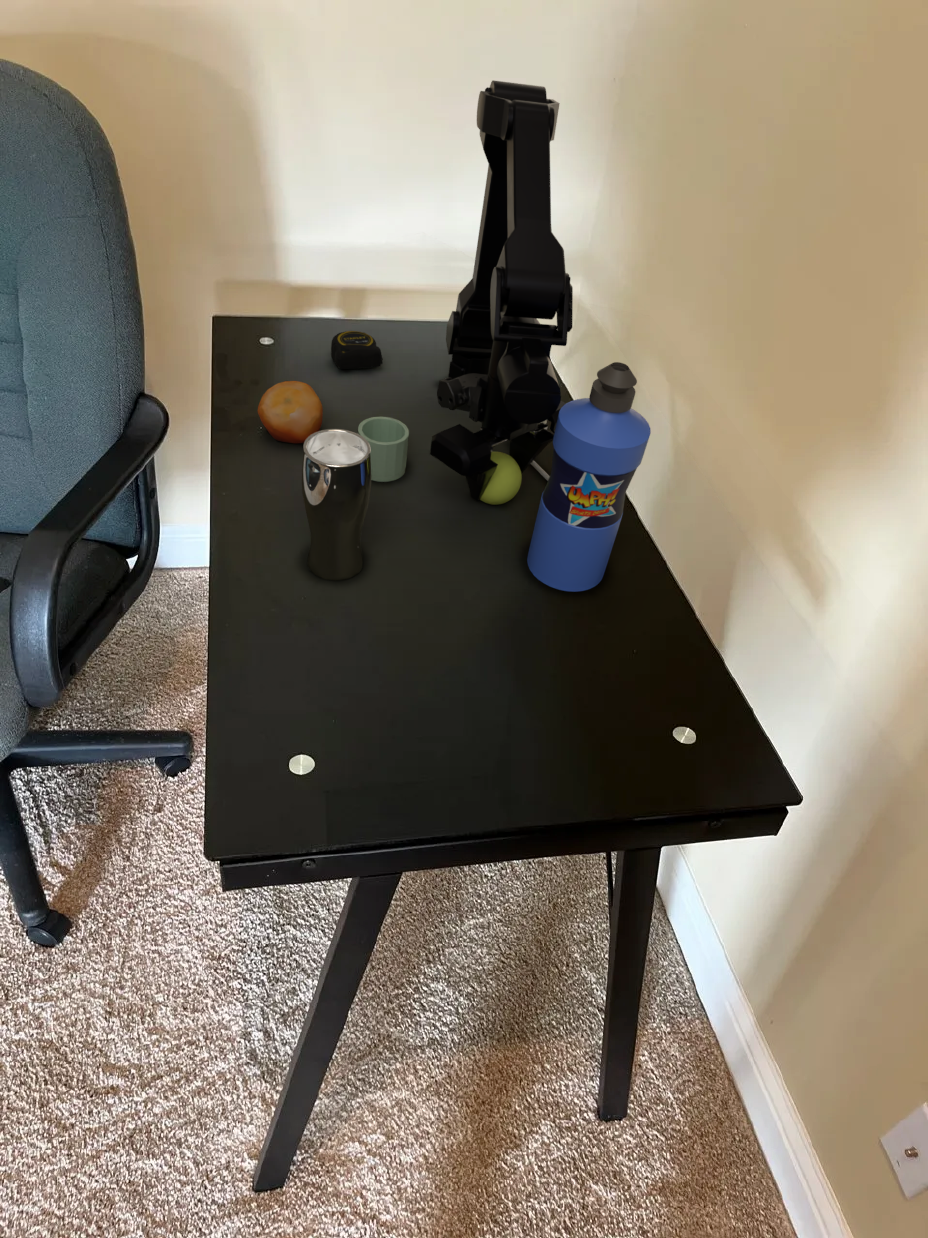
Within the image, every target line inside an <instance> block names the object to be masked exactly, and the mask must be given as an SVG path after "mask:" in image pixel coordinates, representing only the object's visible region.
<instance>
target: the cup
mask: <svg viewBox="0 0 928 1238" xmlns="http://www.w3.org/2000/svg"><path fill="white" fill-rule="evenodd" d="M357 434H359V435H361V436H362V437H364V438H365V439H366V440H367V441H368V442H369V444H370V447H371V481H374V482H381V483H383V482H384V483H387V482H394V481H396V480H399V479H400V478H402V477H403V476H404V475H405V473H406V470H407V461H408V460H407V458H408V449H409V436H410V429H409V428H408V426H407V424H405V423H404V422H402V421H400V420H399V419H396V418H393V417H391V416H390V417H389V416H372V417H369V418H366V419H364V420H362V421H361V422H360V423H359V424H358V426H357Z"/></svg>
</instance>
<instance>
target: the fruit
mask: <svg viewBox="0 0 928 1238" xmlns="http://www.w3.org/2000/svg"><path fill="white" fill-rule="evenodd" d="M257 414H258V416H259V419H260V421H261V424H263V426H264V428H265V429H266V431H267V432H268V433H269V435H270V436H271V437H272V438H273V439H274V440H275V441H278V442H283V443H287V444H288V443H289V444H304V442H305V440H306V439H307V438H308V437H309V436H310V435H312V434H313V433H315V432H318V431H321V428H322V425H323V414H324V408H323V404H322V401H321V400H320V398H319V395H317V393H316V392H315V390H314V389H313V388H312V386H311V385H310V384H308V383H306V382H303V381H299V380H285V381H281V382H278V383H276V384H274V385H272V386H271V387H269V388H267V389H266V391H265V392H264V393H263V394H262V396H261V398H260V400H259V403H258V405H257Z"/></svg>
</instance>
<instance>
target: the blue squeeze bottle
mask: <svg viewBox="0 0 928 1238" xmlns="http://www.w3.org/2000/svg"><path fill="white" fill-rule="evenodd" d="M596 377H597V378H596V379H595V380H593V382H592V385H591V389H590V393H589V397H583V398H577V399H573V400H570V401H568V402H565V403H566V404H565V405H564V406H563V407H562V408H561V409H560V411H559V415H558V420H557V424H556V428H555V433H553V434H554V437H553V441H552V446H553V451H552V459H551V471H550V475H549V476H550V477H549V479H548V481H546V484H545V487H544V490H543V492H542V493H541V497H540V501H539V505H538V509H537V514H536V517H535V522H534V527H533V531H532V534H531V535H532V536H531V540H530V543H529V548H528V552H527V557H526V561H527V567H528V569H529V571H530V572H531V574H532V575H533V576H534V577H535V578H536V579H537V580H538V581H540V583H543V584H544V585H546V586H548V587H550V588H553V589H556V590H559V591H564V592H573V593H574V592H576V593H577V592H584V591H588V590H591V589H593V588H595V587H596V586H598V584H600V583H601V581H602V580H603V578H604V575H605V572H606V569H607V566H608V563H609V560H610V556H611V553H612V550H613V547H614V543H615V540H616V538H617V534H618V531H619V528H620V525H621V521H622V518H623V515H624V506H625V499H626V493H627V490H628V489H629V486H630V484H631V482H632V480H633V478H634V476H635V473H636V471H637V469H638V468H639V466H640V465H641V464H642V461H643V458H644V455H645V452H646V449H647V445H648V443H649V440H650V436H651V432H652V431H651V426H650V424H649V422H648V420H647V419H646V418H645V417H644V416H643V415H642V414H641V413H639V412H638V411H637V410H635V409H634V408H632V406H633V403H634V400H635V397H636V389H635V388H634V387H635V386H636V385H637V384H638V379H637V378H636V376H635V375H634V372H633V371H632V370H631V368H630V367H629V365H627V364H625V363H623V362H619V361H614V362H612V363H610V364H608V365H606V366H604V367H602V368H600V369H599V370H598V371H597V372H596Z"/></svg>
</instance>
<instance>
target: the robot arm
mask: <svg viewBox="0 0 928 1238" xmlns="http://www.w3.org/2000/svg"><path fill="white" fill-rule="evenodd" d="M476 107H477V108H476V127H477V128H478V130H479V138H480V143H481V146H482V150H483V152H484V155H485V158H486V161H487V162H488V167H487V173H486V179H485V180H486V181H485V188H484V195H483V201H482V208H481V216H480V217H481V218H480V223H479V230H478V237H477V243H476V250H475V251H476V252H475V259H474V266H473V271H472V277H471V279H470V280H469V282H468V283H467V284H466V285H465V286H464V287H463V288H462V290H461V291H460V292H459V293H458V295H457V301H456V302H457V303H456V307H455V310H452V311H451V313H450V316H449V318H448V321H447V323H446V333H445V342H446V349H447V355H449V356H450V355H451V360H450V361H449V367H448V374H447V375H448V377H445V378H443V379H441V380H439V381H438V386H437V390H436V397H437V403H438V405H439V407H441V408H443V409H448V410H450V411H455V410H457V411H463V412H469V415H468V418H469V419H470V420H472V421H473V422H475V423H478V422H479V423H481V426H480V427H479V430H478V431H476V432H473V431H471V430H470V429H468V428H467V427H465V426H464V425H462V424H461V423H458V424H455V425H453V426H451V427H449V428H446V429H444V430H442V431H439V432H436V433H435V434H433V435H431V439H430V447H429V448H430V450H429V455H431V456H432V457H434V458H435V459H437V461H439V462H441V463H442V464H443V465H445V466H447V467H448V468H449V469H451V470H452V471H454V472H455V473H457V474H458V475H459V476H461V477H462V476H463V477H465V479H466V484H467V488H468V490H469V495H470V498H472V499H473V500H474V501H475V502H479V501H481V500H480V498H481V496H482V495H483V493H484V491H485V489H486V487H487V485H488V483H489V481H490V479H491V478H492V476H493V474H494V472H495V470H496V468H497V466H498V464H497V463H495V462H494V461H492V460H491V459H490V458H491V453H492V452H494V448H495V447H497V446H499V445H501V444H503V443H505V442H510V444H509V452H508V455H509V456H511V457H512V458H513V459H514V460H515V461H516V462H517V464H518V465H519V467H520V470H521V475H523V474H524V472H525V471H526V470H527V469H528V467H529V466H530V465H531V463H532V462H533V460H534V461H535V459H536V458H537V457H538V456H539V455H540V454H541V453H542V452H543V451H544V449H546V447H547V446H548V445H549V444H550V443H551V442H553V437H554V433H555V428H556V424H557V420H558V415H559V411H560V409H561V408H562V407H563V406H564V405H565V404H566V403H567V402H564V401H563V400H562V393H561V387H560V384H559V381H558V379H557V375H556V373H555V369H554V367H553V364H552V360H551V351H552V346H559V347H566V346H567V344H568V333H570V332H571V330H572V329H573V304H574V303H573V297H574V296H573V295H574V293H573V292H574V291H573V290H574V289H573V285H572V284H571V276H570V274H569V273H568V272H566V262H565V261H566V259H565V249H564V247H563V246H562V244H561V243H560V241H559V240H558V239H557V237H556V236H555V235H554V233H553V231H552V202H551V201H552V200H551V199H552V198H551V197H552V194H551V189H552V188H551V142H552V141H555V136H556V129H557V123H558V116H559V110H560V102H559V101H556V100H555V99H554V98H553V99H552V98H548V97H547V89H546V87H545V86H542V85H533V84H526V83H519V82H518V83H517V82H509V81H501V80H491V82H490V85H489V87H488V86H487V87H486V88H484V90H480V91H479V93H478V100H477V106H476ZM555 316H556V324H547V323H540V321H539V320H549V321H550V320H553V319H554V318H555ZM548 421H549V422H550V426H548V424H547V423H548ZM548 427H549V430H548Z"/></svg>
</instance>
